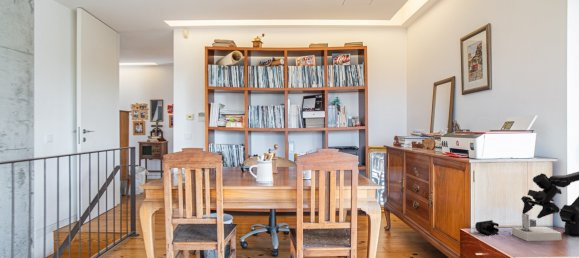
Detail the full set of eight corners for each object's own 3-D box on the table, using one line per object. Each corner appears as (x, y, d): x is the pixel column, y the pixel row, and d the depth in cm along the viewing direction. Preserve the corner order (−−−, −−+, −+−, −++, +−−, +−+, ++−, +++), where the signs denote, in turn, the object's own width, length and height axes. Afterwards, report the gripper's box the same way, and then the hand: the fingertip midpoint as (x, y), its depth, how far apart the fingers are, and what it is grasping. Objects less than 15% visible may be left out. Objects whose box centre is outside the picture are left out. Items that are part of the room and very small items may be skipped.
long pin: (528, 236, 169) (527, 214, 169) (530, 238, 166) (529, 215, 166) (521, 236, 170) (520, 213, 170) (524, 238, 167) (523, 215, 167)
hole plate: (544, 233, 173) (544, 226, 174) (561, 240, 162) (561, 232, 163) (512, 234, 174) (512, 227, 174) (527, 241, 163) (527, 233, 163)
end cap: (488, 230, 182) (487, 219, 182) (499, 234, 175) (499, 222, 175) (475, 232, 179) (474, 220, 179) (486, 236, 172) (485, 224, 173)
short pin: (533, 231, 178) (533, 219, 178) (537, 232, 175) (537, 220, 175) (528, 231, 178) (528, 219, 178) (532, 233, 175) (532, 220, 175)
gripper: (523, 182, 179) (506, 202, 177) (553, 187, 160) (535, 210, 159) (536, 194, 179) (519, 215, 178) (568, 201, 161) (549, 224, 159)
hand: (530, 215), depth 169 cm, fingers open, 9 cm apart
